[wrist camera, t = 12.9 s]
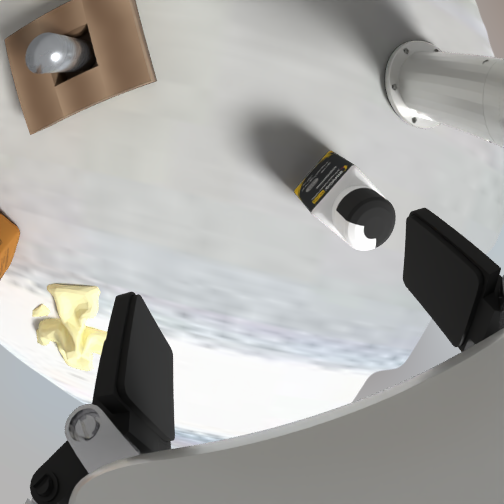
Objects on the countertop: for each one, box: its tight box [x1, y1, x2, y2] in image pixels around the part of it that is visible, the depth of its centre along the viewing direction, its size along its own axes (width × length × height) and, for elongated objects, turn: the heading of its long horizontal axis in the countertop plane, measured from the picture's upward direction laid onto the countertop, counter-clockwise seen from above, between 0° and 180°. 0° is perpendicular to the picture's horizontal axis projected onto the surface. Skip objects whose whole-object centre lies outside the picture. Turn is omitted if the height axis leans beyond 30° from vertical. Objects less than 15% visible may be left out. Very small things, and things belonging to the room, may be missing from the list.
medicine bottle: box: [294, 151, 395, 251], centre depth 35 cm, size 7×7×12 cm
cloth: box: [32, 284, 107, 371], centre depth 43 cm, size 22×19×6 cm
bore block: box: [5, 0, 157, 135], centre depth 24 cm, size 14×12×5 cm
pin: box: [25, 32, 96, 74], centre depth 21 cm, size 4×4×10 cm
